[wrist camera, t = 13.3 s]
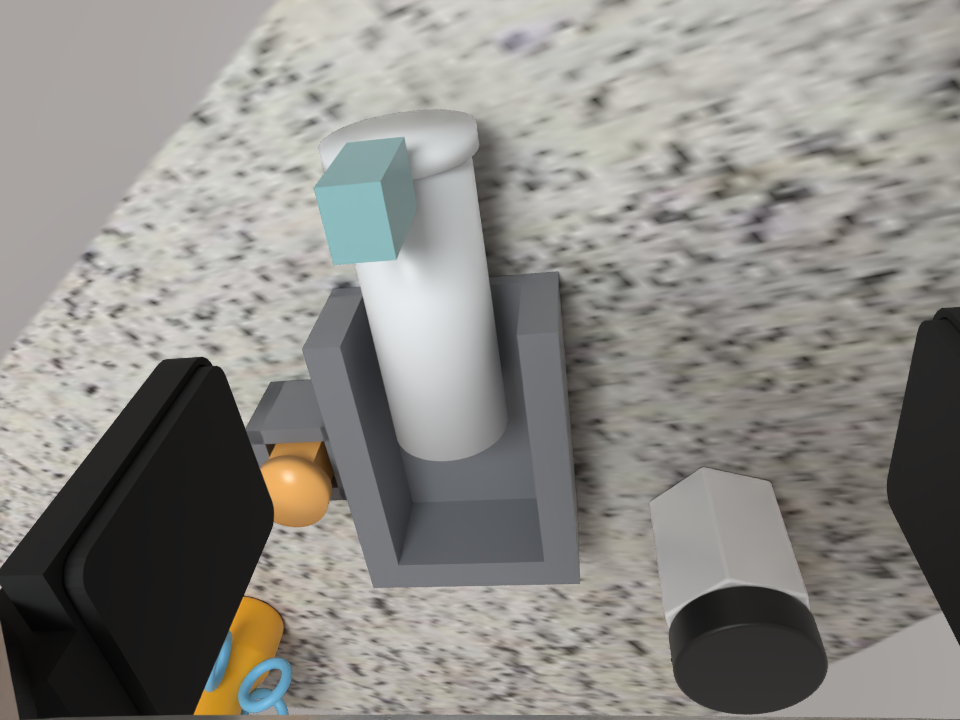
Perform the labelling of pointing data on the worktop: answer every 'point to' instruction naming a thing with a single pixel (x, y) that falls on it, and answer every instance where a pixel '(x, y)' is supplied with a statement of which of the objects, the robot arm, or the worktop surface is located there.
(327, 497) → the plunger
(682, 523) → the jar
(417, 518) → the housing
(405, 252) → the cartridge
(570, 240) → the worktop surface
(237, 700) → the ringed yellow tube
